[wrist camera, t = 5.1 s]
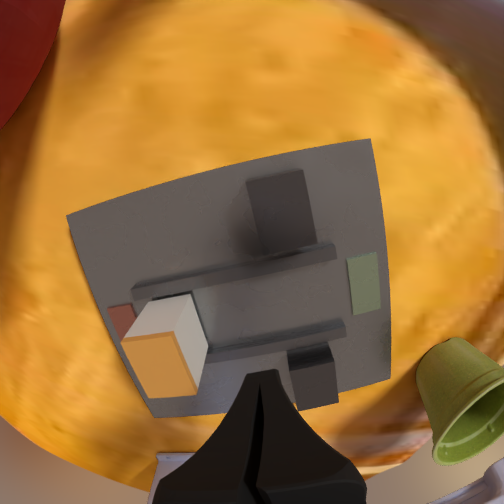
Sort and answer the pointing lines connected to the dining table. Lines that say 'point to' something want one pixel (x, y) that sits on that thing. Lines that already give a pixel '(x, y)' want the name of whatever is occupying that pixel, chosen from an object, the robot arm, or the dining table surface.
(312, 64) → the dining table surface
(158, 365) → the white orange block
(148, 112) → the dining table surface
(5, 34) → the mixing bowl
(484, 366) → the plant pot
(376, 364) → the panel
